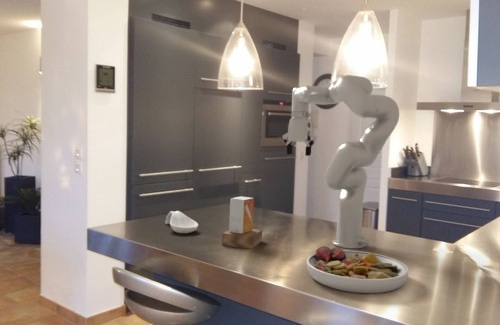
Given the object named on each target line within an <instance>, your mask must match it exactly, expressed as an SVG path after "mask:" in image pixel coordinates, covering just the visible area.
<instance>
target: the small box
mask: <svg viewBox="0 0 500 325" xmlns="http://www.w3.org/2000/svg"><path fill="white" fill-rule="evenodd" d="M254 203H255V198H254V197H249V196H242V195H241V196H237V197H236V196H235V197H232V198H230V201H229V224H228V225H229V226H228V230H229V232H234V233H241V234H243V233H246V232H249V231H252V230H253V229H254V206H255V204H254Z"/></svg>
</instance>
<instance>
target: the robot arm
mask: <svg viewBox="0 0 500 325" xmlns="http://www.w3.org/2000/svg"><path fill="white" fill-rule="evenodd" d="M373 89H374V87H373V83H372V82H371V80H370V79H369V78H367V77H364V76H358V75H352V74H351V75H350V74H347V75H343V76H341V77H340V78H339V79H338V80H334V81H333V82H332V83H331V85H330V86H319V85H318V86H316V85H305V86H302V87H301V86H300V87H299V86H298V87H293V89H292V92H291V95H292V96H291V118H290V119H289V121H288V122H289V123H288V129H287V130H288V131H287V132H286V133H284V134H283V135H282V139H283V142H284V143H285V145H286V154H287V155H292V154H293V145H292V144H293V143H295V142H297V143H300V142H301V143H305V145H306V146H305V156H306V157H310V156H311V154H312V147H313V145H314V144H315V143H316V140H317V139H318V136H316V135H315V134H313V132H312V130H313V129H312V121H311V119H309V118H310V117H311V116H312V114H311V113H310V105H322V106H324V105H335V104H339V103H341V102H343V103H344V104H345V105H346V106H347V107H348V109H350V111H351V112H352V113H353V114H354V115H356V116H357V117H359V118H362V119H375V120H373V122H371V123H370V125H368V126H367V127H366V129H365V130H364V132H363V134H362V135H361V137H360V138H359V140H357V141H346V142H344V143H343V144H341V145H340V146H339V147H338V148H337V150H336V152H335V153H334V154H333V157H332V159H331V160H330V163H329V164H328V166H327V168H326V171H325V172H324V183H325V186H326V187H327V188H328V189H330V190H333V191H340V193H339V195H338V199H337V200H338V201H337V218H336V219H337V220H336V237H335V238H334V239H333V240H332V241H331V242H332V243H331V244H332V245H334V247H338V248H341V249H342V248H344V249H354V250H355V249H362V248H364V247H365V246H366V245H368V246H370V245H371V243H372V242H371V238H366V237H365V234H363V233H362V232H363V231H362V230H363V212H364V211H363V208H364V196H365V190H366V185H367V180H368V176H367V171H366V169H365V168H364V167H370V166H372V165H373V163H375V160H377V158H378V156H379V154H380V153H381V151H382V149H383V147H384V146H385V144H386V142H387V140H388V139H389V138H390V136H391V134H392V133H393V132H394V130H395V129H396V127H397V125H398V123H399V118H400V108H399V106H398V103H397V102H396V100H395V99H393V98H392V97H390V96H387V95H383V94H382V95H379V94H372V92H373Z"/></svg>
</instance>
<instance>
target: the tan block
mask: <svg viewBox="0 0 500 325" xmlns="http://www.w3.org/2000/svg"><path fill="white" fill-rule="evenodd" d="M260 242H261V243H262V242H263V229H257V228H256V229H254V228H253V230H252V231H249V232H246V233H243V234H241V233H234V232H229V229H228V230H225V231H224V232H222V235H221V246H225V247H234V248H242V249H254V248H255V247H256V246H258V245H259V244H260Z"/></svg>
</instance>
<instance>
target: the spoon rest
mask: <svg viewBox="0 0 500 325" xmlns="http://www.w3.org/2000/svg"><path fill="white" fill-rule="evenodd" d="M164 222H165V223H164V224H165V225H170V228H171V229H172V230H173V231H174V232H175V233H177V234H190V233H193V232H195V231H196V230H197V229H198V227H199V224H198V222H197V221H195V220H194V219H192V218H190V217H189V216H187V215H186V214H184V213H183V212H182V211H180V210H176V211H173V210H171V211H169V212H168V213H167V215H166V217H165V221H164Z"/></svg>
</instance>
